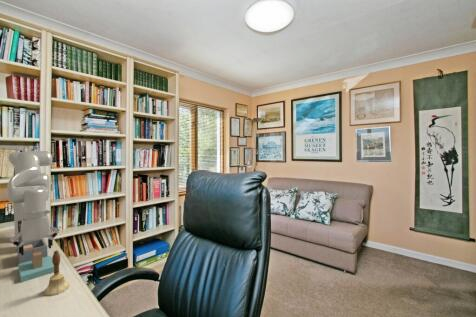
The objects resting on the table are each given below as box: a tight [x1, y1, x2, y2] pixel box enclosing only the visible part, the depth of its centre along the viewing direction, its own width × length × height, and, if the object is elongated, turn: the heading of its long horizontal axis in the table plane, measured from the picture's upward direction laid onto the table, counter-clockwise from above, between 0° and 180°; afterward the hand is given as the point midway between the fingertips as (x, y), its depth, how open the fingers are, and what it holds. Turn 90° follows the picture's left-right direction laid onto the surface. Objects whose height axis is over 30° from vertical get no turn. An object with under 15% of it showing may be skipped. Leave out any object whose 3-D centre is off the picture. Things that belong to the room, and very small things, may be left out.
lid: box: [17, 249, 54, 283], centre depth 105 cm, size 15×12×8 cm
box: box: [16, 238, 49, 264], centre depth 117 cm, size 14×10×7 cm
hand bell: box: [42, 249, 70, 297], centre depth 91 cm, size 8×8×16 cm
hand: (36, 250), depth 106 cm, fingers open, 9 cm apart
